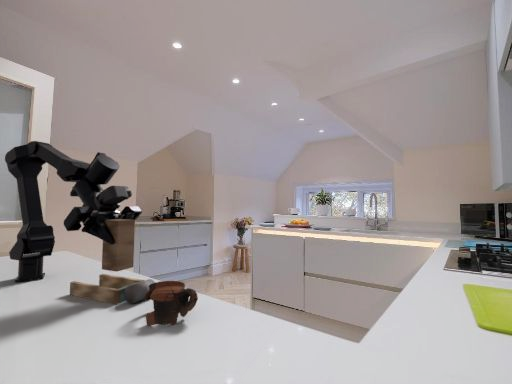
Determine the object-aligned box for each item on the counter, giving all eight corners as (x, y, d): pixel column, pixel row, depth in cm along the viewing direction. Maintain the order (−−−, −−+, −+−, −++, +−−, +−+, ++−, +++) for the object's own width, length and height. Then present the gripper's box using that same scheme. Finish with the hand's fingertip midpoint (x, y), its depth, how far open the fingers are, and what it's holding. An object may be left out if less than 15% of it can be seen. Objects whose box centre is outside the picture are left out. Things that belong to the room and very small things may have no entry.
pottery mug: (129, 329, 51) (134, 284, 56) (159, 332, 59) (162, 292, 63) (186, 318, 49) (187, 272, 53) (210, 323, 56) (209, 282, 61)
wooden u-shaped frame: (69, 294, 68) (70, 278, 68) (102, 284, 76) (102, 270, 76) (131, 307, 60) (132, 288, 60) (160, 294, 68) (161, 278, 69)
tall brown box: (101, 269, 67) (103, 220, 67) (118, 265, 72) (120, 219, 72) (116, 271, 65) (118, 220, 65) (133, 267, 70) (135, 219, 70)
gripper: (74, 171, 62) (107, 222, 57) (138, 178, 79) (167, 218, 75) (50, 205, 65) (79, 256, 60) (117, 205, 82) (144, 245, 77)
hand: (122, 241), depth 68 cm, fingers closed on tall brown box, 5 cm apart
